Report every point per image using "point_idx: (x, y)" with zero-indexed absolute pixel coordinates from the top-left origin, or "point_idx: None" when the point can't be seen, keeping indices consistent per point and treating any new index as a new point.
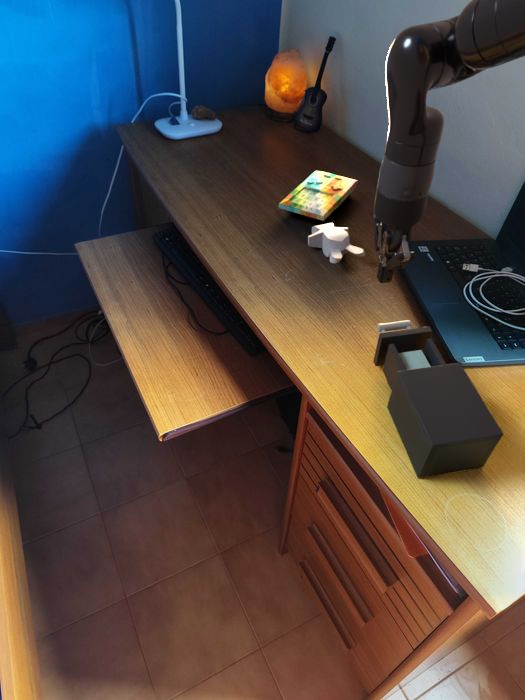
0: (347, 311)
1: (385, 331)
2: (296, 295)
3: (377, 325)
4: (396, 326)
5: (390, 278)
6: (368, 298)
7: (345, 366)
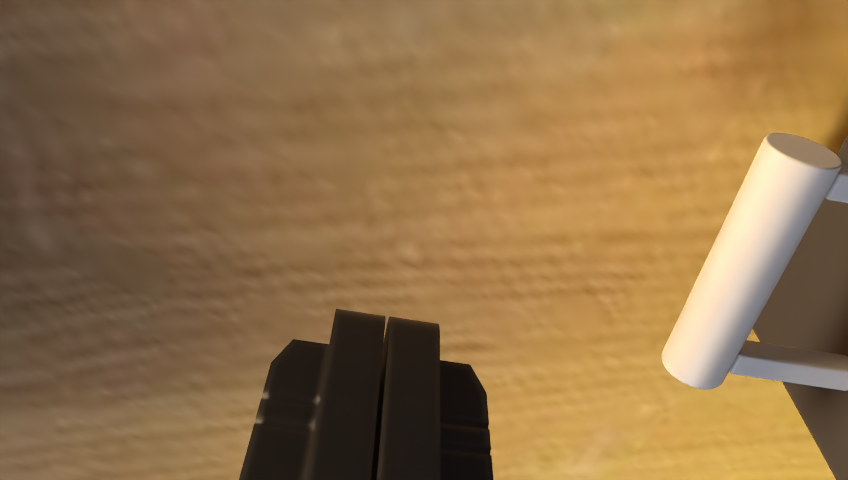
0: (260, 230)
1: (762, 359)
2: (53, 410)
3: (668, 366)
4: (777, 278)
5: (480, 422)
6: (150, 35)
7: (663, 404)
